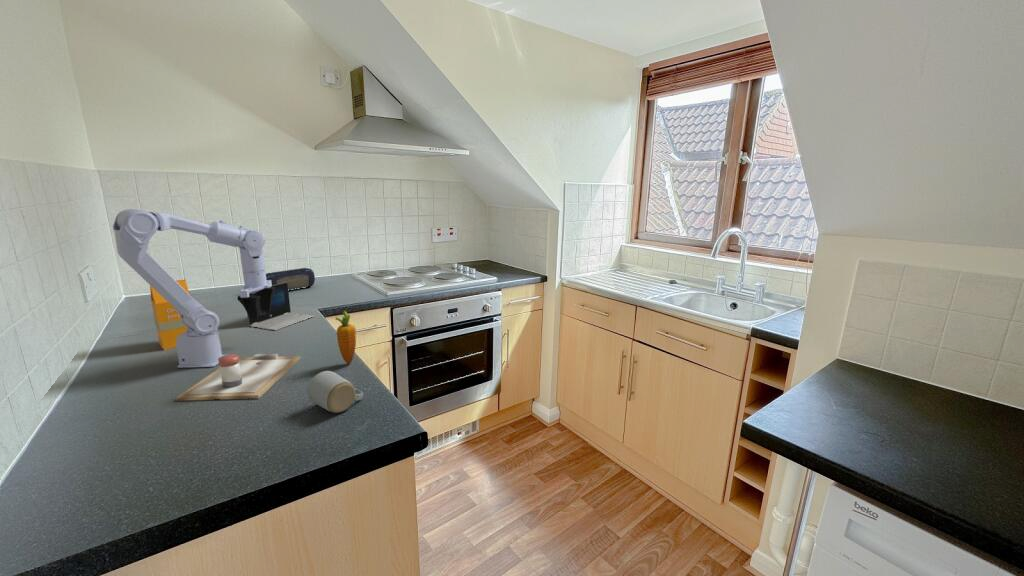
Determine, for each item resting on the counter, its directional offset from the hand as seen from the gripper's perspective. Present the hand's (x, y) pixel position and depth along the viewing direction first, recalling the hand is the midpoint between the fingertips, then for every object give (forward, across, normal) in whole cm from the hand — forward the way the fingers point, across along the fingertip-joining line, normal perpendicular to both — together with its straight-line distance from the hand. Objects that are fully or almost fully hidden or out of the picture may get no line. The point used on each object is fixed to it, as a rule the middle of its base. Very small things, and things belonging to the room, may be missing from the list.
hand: (260, 314), depth 128 cm
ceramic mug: (+11, -38, -34) cm, 53 cm away
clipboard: (+10, -22, -6) cm, 25 cm away
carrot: (+11, -15, -30) cm, 35 cm away
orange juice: (+10, +5, +28) cm, 31 cm away
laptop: (+11, +26, +6) cm, 29 cm away
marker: (+9, -28, -6) cm, 30 cm away
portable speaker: (+11, +78, +25) cm, 82 cm away
